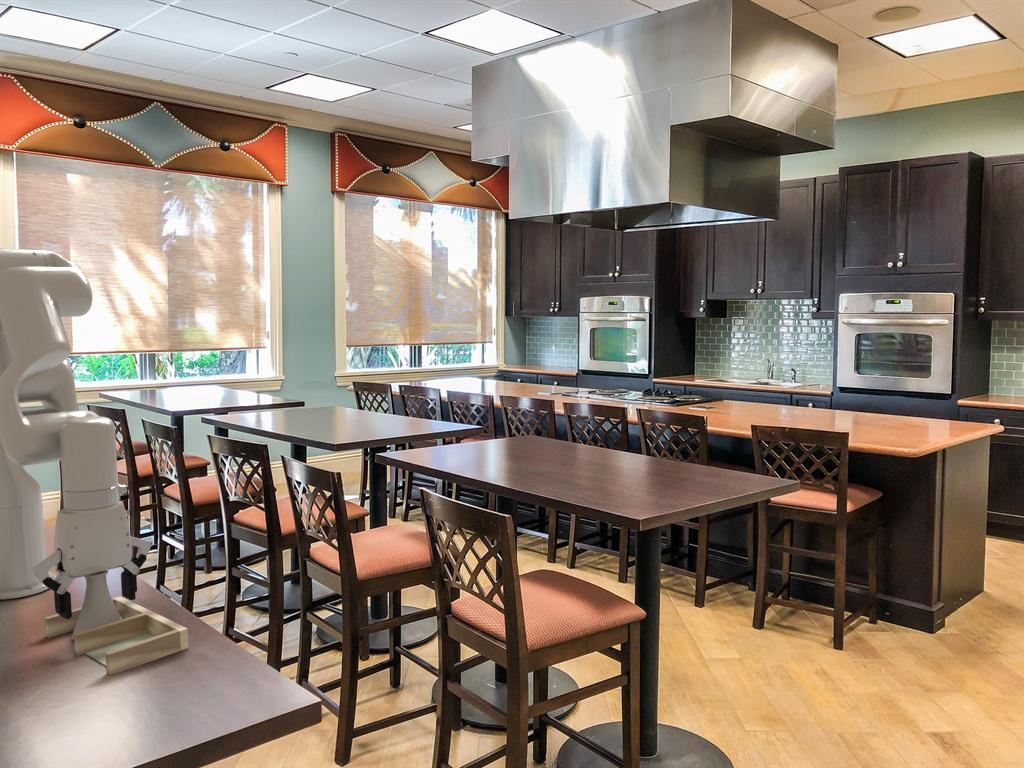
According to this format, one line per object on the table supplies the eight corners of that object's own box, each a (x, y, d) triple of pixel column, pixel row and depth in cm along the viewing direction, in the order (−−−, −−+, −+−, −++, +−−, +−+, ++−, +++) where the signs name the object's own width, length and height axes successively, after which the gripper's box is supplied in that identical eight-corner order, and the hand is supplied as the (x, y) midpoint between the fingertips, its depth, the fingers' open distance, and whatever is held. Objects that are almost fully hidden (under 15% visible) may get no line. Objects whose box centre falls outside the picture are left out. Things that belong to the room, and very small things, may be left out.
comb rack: (45, 636, 128) (44, 617, 127) (121, 613, 137) (120, 596, 136) (109, 675, 114) (108, 654, 114) (188, 647, 123) (187, 628, 123)
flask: (104, 646, 124) (100, 581, 123) (62, 642, 126) (58, 578, 125) (135, 627, 131) (132, 565, 130) (95, 623, 133) (91, 562, 132)
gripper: (135, 484, 135) (140, 586, 137) (19, 505, 122) (27, 618, 124) (158, 491, 130) (163, 596, 132) (40, 514, 117) (48, 631, 119)
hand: (97, 607), depth 128 cm, fingers open, 9 cm apart
